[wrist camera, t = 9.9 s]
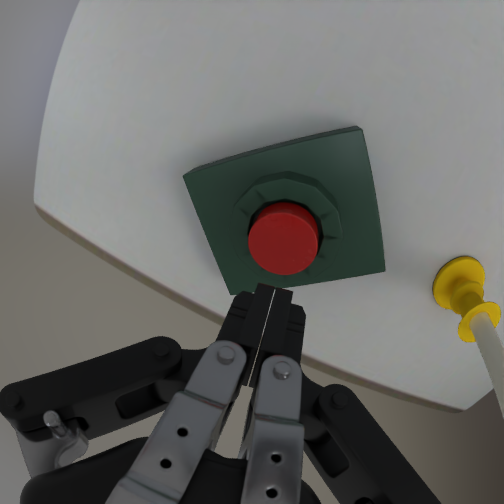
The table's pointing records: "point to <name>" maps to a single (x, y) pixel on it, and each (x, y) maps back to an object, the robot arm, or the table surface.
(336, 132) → the button box
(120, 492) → the robot arm
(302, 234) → the red button
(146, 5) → the table surface
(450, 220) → the table surface
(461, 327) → the candle
